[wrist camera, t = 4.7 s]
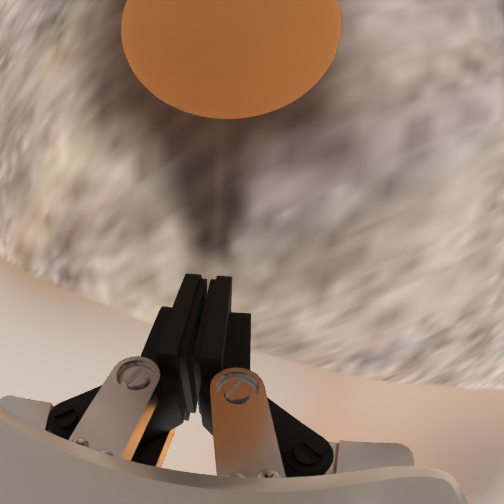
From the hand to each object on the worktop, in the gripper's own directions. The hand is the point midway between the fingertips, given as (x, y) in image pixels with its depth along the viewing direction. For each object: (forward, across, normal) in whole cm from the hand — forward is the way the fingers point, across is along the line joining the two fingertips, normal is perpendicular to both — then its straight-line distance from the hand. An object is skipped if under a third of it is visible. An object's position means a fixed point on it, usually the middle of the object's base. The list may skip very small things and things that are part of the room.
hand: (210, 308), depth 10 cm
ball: (0, 0, -10) cm, 10 cm away
